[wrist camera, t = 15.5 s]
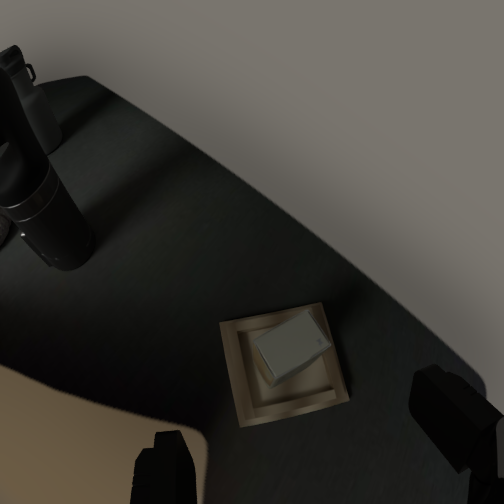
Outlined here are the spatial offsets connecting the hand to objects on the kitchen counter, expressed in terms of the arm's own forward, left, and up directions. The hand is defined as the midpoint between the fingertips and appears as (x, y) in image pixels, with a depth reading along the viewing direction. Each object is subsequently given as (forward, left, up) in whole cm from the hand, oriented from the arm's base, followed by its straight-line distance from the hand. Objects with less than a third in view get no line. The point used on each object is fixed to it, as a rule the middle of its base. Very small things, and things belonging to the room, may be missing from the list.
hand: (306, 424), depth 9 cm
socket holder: (+4, +7, -31) cm, 32 cm away
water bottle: (-39, +63, -31) cm, 80 cm away
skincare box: (+4, +7, -30) cm, 31 cm away
